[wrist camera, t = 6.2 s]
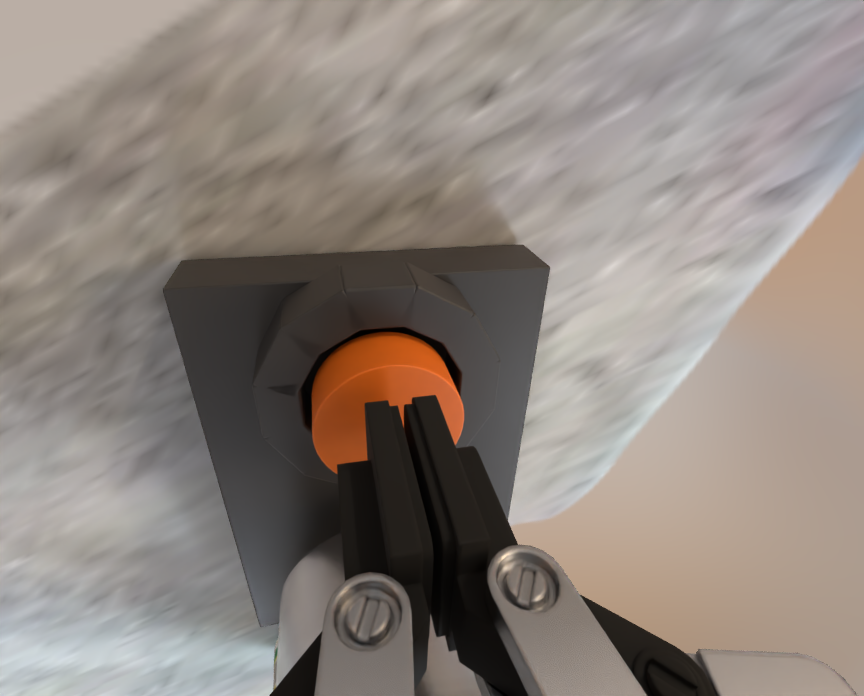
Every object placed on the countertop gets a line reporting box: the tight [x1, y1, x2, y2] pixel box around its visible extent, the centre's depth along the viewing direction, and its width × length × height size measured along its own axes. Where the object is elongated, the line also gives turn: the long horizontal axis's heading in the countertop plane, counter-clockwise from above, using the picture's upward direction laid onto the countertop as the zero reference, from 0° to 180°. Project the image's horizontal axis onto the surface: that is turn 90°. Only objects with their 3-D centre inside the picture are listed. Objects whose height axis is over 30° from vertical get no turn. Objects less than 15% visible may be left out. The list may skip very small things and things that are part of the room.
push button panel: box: [163, 245, 550, 627], centre depth 17 cm, size 16×11×4 cm
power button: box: [312, 332, 464, 474], centre depth 13 cm, size 4×4×2 cm
